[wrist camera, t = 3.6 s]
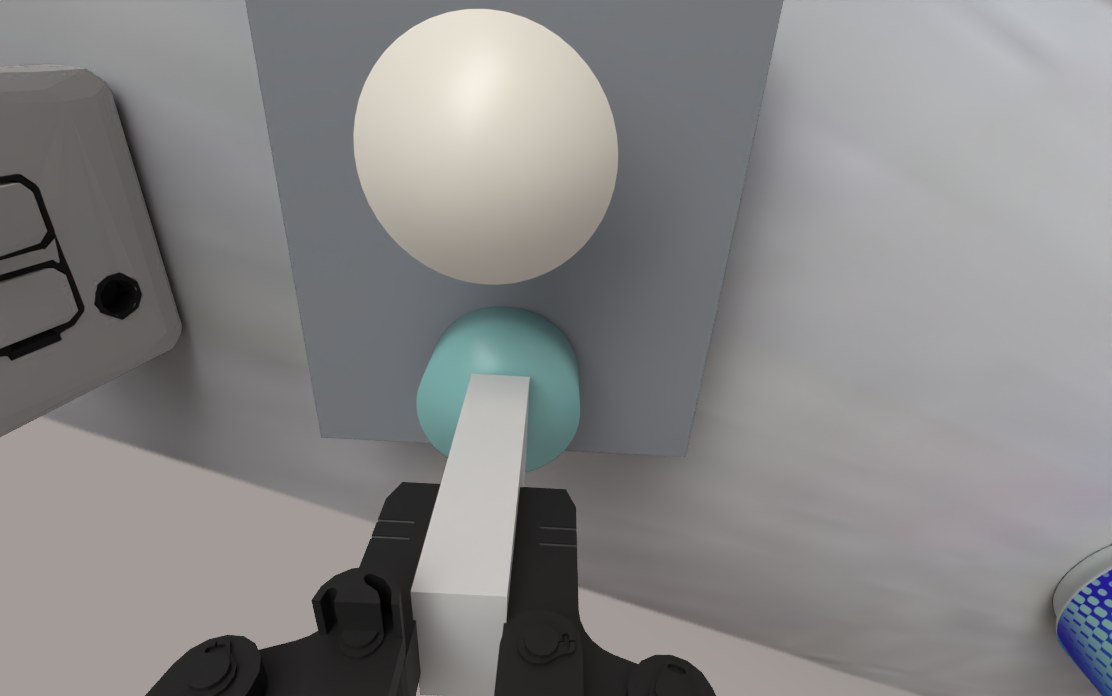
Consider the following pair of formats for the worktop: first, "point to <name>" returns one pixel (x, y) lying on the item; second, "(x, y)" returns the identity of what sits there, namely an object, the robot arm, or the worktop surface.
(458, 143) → the knob cream
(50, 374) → the electrical switch
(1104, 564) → the beer can
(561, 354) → the knob teal
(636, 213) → the mount block
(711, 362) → the worktop surface
